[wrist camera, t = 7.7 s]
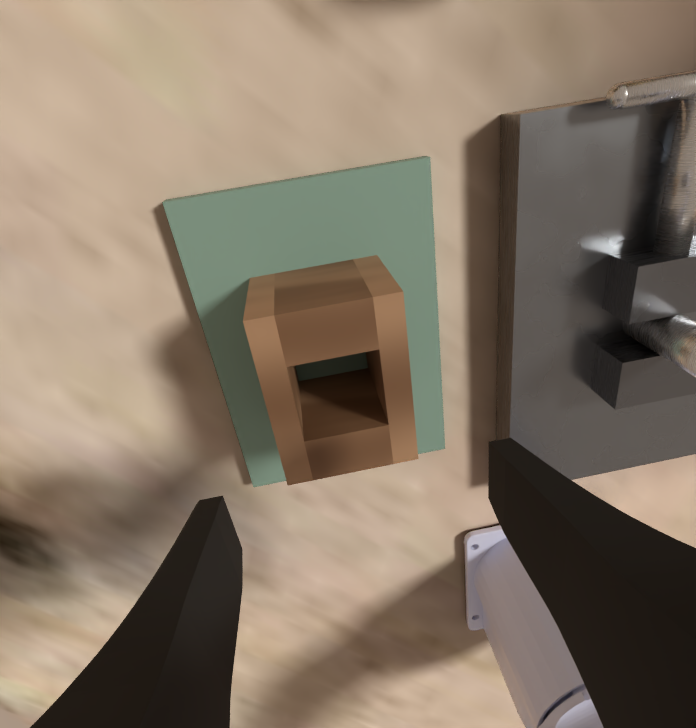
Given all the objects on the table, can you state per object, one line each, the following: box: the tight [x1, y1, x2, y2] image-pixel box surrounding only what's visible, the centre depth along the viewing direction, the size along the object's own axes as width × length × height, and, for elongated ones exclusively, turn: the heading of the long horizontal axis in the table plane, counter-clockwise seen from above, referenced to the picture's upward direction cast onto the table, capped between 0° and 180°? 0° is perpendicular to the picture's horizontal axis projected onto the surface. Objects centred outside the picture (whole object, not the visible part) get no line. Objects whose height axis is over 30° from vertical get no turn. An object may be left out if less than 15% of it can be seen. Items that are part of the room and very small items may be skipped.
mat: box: [162, 156, 445, 487], centre depth 21 cm, size 14×10×1 cm
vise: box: [496, 71, 696, 480], centre depth 19 cm, size 18×12×7 cm, turn 8°
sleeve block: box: [243, 255, 418, 485], centre depth 19 cm, size 7×5×4 cm
